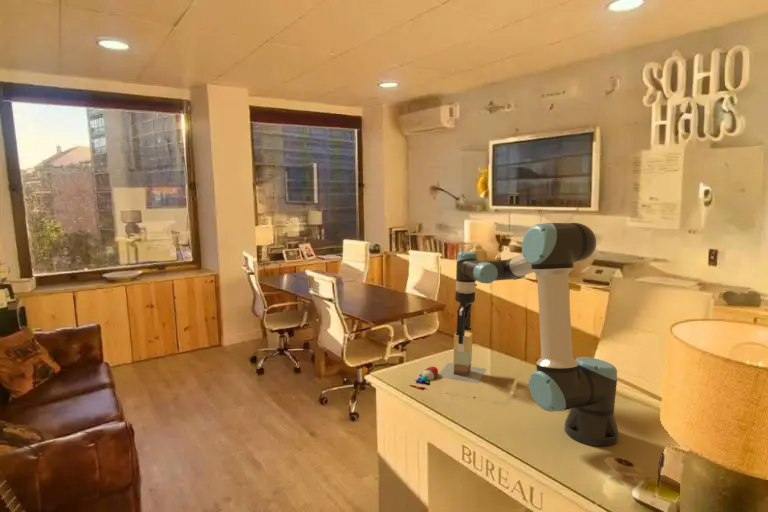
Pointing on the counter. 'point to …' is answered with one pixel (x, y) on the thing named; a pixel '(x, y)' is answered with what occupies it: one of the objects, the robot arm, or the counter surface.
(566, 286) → the robot arm
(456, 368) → the brown brick
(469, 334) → the ochre brick
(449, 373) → the baseplate
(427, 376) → the toy figure
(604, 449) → the counter surface
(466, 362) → the sage brick
